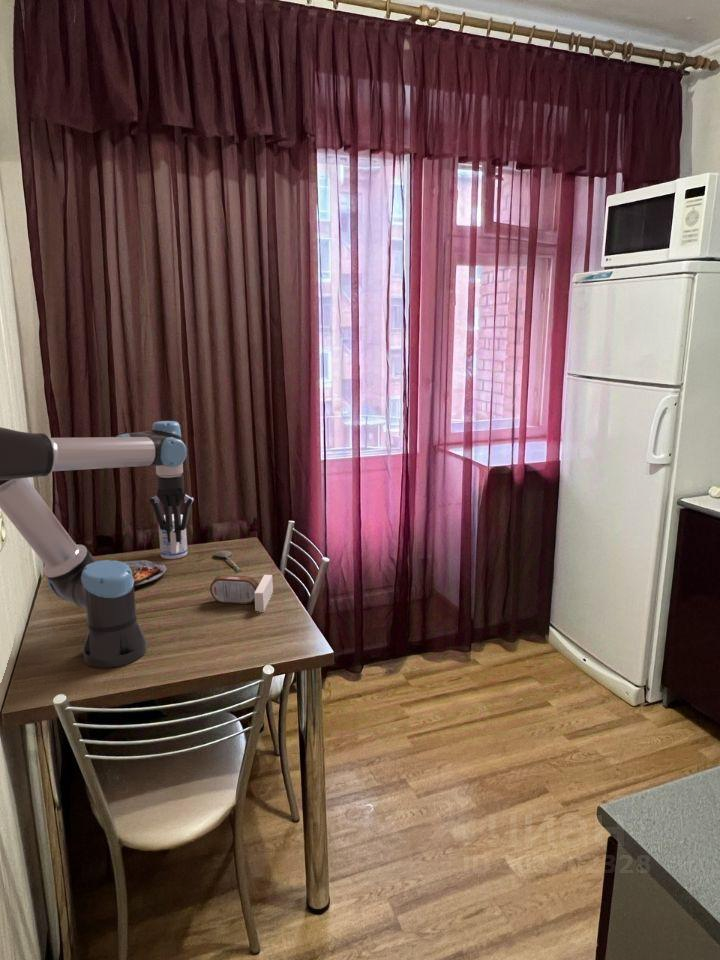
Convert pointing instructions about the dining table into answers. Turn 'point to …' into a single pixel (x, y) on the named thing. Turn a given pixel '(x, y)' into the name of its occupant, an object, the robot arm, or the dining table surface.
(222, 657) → the dining table surface
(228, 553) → the soupspoon
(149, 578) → the food plate
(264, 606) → the board
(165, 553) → the supplement tub
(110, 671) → the dining table surface
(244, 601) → the tin
